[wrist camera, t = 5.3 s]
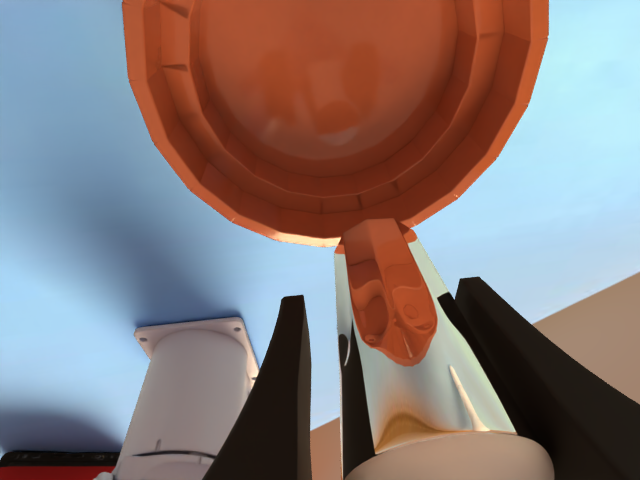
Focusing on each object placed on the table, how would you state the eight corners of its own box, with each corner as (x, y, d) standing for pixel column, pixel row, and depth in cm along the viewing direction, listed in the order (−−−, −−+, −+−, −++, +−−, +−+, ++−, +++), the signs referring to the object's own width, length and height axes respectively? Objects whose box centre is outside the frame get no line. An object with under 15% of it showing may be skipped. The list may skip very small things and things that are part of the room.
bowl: (458, 182, 21) (493, 229, 17) (213, 208, 21) (198, 261, 17) (531, -196, 12) (635, -256, 8) (97, -154, 12) (17, -198, 8)
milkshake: (294, 204, 12) (305, 622, 5) (444, 198, 13) (685, 582, 5) (298, 293, 15) (310, 643, 8) (421, 286, 16) (552, 617, 8)
